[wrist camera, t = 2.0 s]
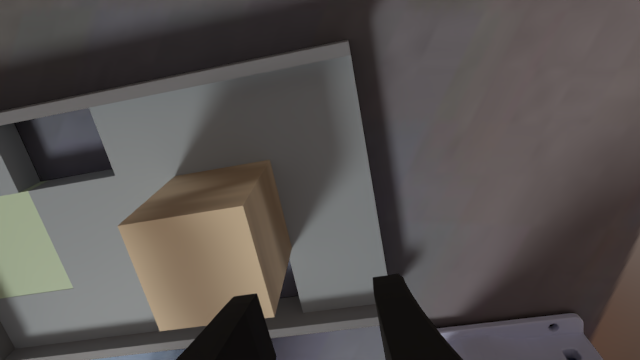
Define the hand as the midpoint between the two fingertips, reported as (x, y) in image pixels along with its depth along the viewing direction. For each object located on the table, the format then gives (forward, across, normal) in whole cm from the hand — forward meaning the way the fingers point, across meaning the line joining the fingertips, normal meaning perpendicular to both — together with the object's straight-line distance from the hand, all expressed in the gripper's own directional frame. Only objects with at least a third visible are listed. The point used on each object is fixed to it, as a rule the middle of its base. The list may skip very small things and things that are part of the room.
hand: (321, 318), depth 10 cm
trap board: (+10, +9, +1) cm, 14 cm away
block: (+9, +5, +1) cm, 10 cm away
